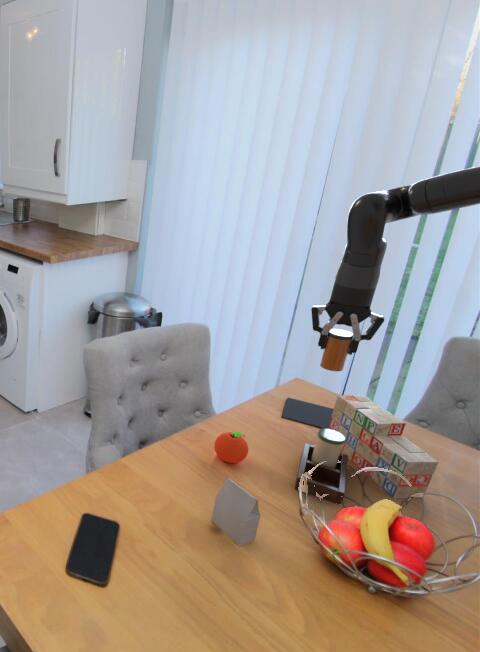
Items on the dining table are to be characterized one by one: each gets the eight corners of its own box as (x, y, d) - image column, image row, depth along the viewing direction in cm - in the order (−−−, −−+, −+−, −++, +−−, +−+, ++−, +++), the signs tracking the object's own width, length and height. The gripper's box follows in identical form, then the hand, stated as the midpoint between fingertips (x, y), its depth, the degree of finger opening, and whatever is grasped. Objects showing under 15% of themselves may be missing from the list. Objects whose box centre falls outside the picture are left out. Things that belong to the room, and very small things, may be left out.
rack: (344, 467, 108) (347, 455, 107) (340, 506, 97) (344, 493, 96) (301, 454, 113) (305, 442, 111) (293, 490, 102) (297, 477, 101)
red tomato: (227, 446, 116) (232, 421, 114) (255, 461, 111) (261, 436, 108) (205, 456, 113) (210, 431, 110) (232, 473, 107) (238, 447, 105)
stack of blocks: (424, 499, 98) (444, 449, 94) (392, 499, 98) (411, 449, 94) (350, 437, 118) (364, 393, 113) (324, 437, 118) (337, 394, 114)
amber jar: (343, 365, 117) (354, 331, 113) (343, 373, 113) (353, 338, 110) (319, 361, 119) (329, 327, 116) (318, 368, 116) (328, 333, 113)
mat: (349, 414, 127) (349, 412, 127) (347, 436, 118) (347, 434, 118) (287, 399, 135) (287, 397, 135) (280, 418, 127) (281, 416, 126)
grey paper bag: (239, 546, 89) (249, 503, 85) (211, 520, 95) (219, 479, 91) (254, 540, 90) (265, 498, 86) (225, 515, 96) (234, 475, 92)
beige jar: (335, 467, 108) (345, 433, 104) (333, 478, 104) (344, 444, 101) (309, 459, 110) (319, 426, 107) (307, 470, 107) (317, 436, 104)
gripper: (315, 281, 110) (298, 349, 116) (397, 292, 101) (374, 364, 108) (318, 274, 115) (301, 338, 122) (396, 283, 107) (374, 352, 113)
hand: (336, 350), depth 115 cm, fingers closed on amber jar, 4 cm apart
